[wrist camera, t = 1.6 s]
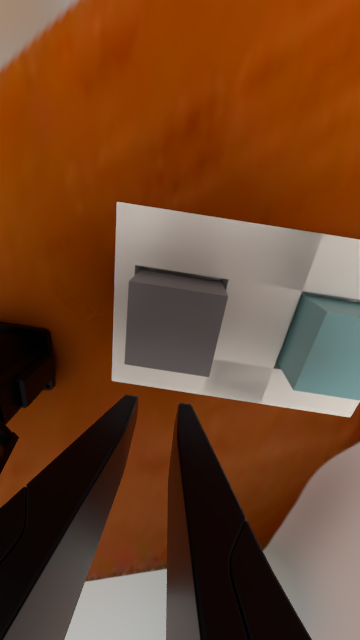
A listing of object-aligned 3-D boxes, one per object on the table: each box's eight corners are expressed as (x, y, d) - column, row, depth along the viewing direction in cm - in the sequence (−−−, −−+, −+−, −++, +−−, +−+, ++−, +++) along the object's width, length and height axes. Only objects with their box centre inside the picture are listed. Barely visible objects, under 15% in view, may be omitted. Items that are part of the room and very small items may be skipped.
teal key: (276, 361, 16) (293, 390, 14) (301, 293, 14) (327, 311, 12) (346, 372, 16) (377, 403, 14) (381, 306, 14) (425, 327, 12)
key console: (126, 352, 21) (111, 380, 17) (134, 205, 16) (116, 201, 12) (323, 382, 21) (350, 417, 17) (390, 245, 16) (448, 253, 12)
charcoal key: (136, 339, 16) (124, 364, 14) (141, 269, 14) (128, 281, 12) (206, 350, 16) (208, 377, 14) (221, 281, 14) (228, 296, 12)
